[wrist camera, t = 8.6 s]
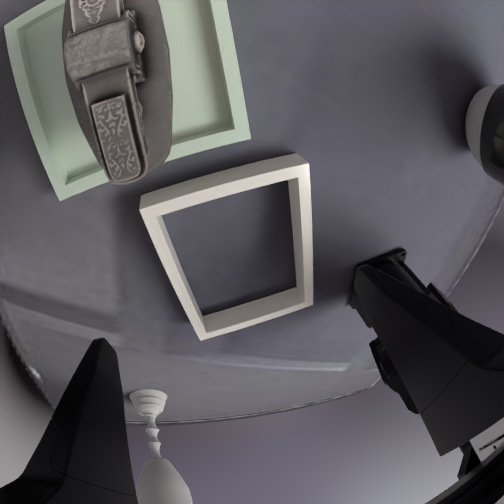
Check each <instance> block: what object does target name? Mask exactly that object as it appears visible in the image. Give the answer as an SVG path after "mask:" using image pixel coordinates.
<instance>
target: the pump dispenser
mask: <svg viewBox="0 0 504 504" xmlns="http://www.w3.org/2000/svg"><path fill="white" fill-rule="evenodd" d="M465 130H466V138H467V142H468V145H469V148H470V150H471V152H472V154H473V156H474V158H475V159H476V160H477V162H478V163H479V164H480V165H481V166H482V167H483V169H484V171H485V173H486V174H487V175H488V176H490V177H491V178H492V179H494V180H496V181H497V182H499V183H501V184H503V185H504V84H503V85H489V86H486V87H484V88H482V89H481V90H479V91H478V92H477V93H476V94H475V95H474V97H473V98H472V100H471V102H470V104H469V107H468V110H467V114H466V122H465Z"/></svg>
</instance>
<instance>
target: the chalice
mask: <svg viewBox="0 0 504 504" xmlns="http://www.w3.org/2000/svg"><path fill="white" fill-rule="evenodd" d="M129 397H130V400H131V401H132V402H133V405H134V407H135V409H136V411H137V412H138V413H139V414H140V415H142V416H144V417H145V418H146V419H147V422H148V424H147V429H146V430H145V431H146V432H147V433H148V435H149V437H150V438H149V442H148V445H149V446H150V449H151V451H152V458H151V459H149V460H146V461H145V463H144V467H143V469H142V471H141V474H140V476H139V480H138V485H137V490H136V494H137V499H138V504H193V502H192V499H191V494H190V490H189V488H188V487H187V485H186V484H185V482H184V481H183V479H182V477H181V476H180V475H179V473H178V472H177V471H176V470H175V468H174V467H173V466H172V464H171V463H170V462H169V461H168V460H166V459H163V458H161V456H160V453H159V447H160V445H161V443H160V442H159V441H158V439H157V433H158V432H159V429H157V428H156V425H155V418H156V417H157V415H160V414H161V412H162V411H163V410H164V408H163V407H164V406H165V401H166V399H167V395H166V394H165V393H163V392H161V391H158V390H153V389H142V390H137V391H134V392H132V393H131V394H130V396H129Z"/></svg>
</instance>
